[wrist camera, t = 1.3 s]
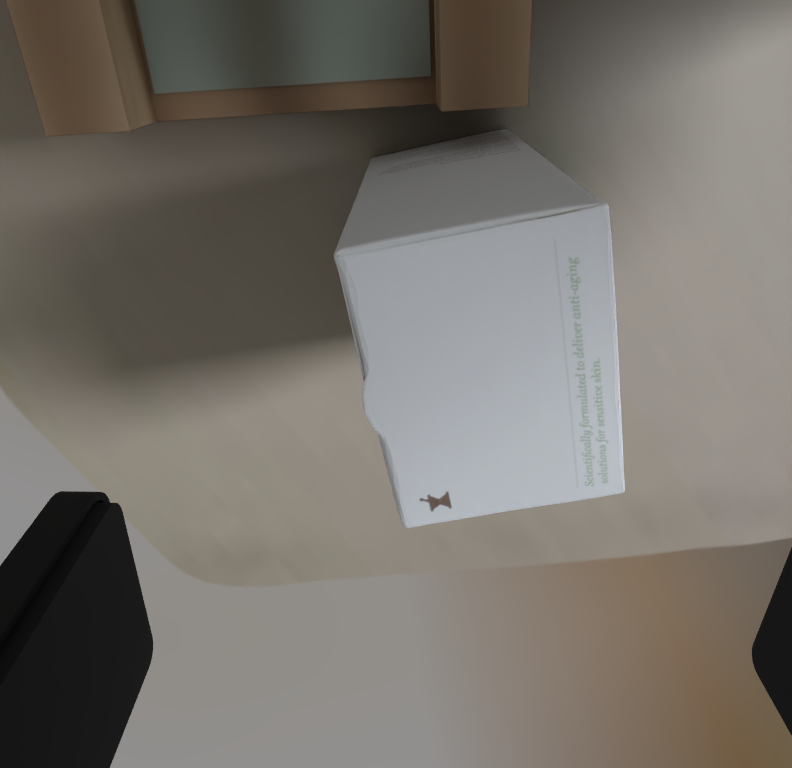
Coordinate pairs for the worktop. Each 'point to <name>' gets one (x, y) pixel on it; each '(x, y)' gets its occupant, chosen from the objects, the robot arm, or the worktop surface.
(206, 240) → the worktop surface
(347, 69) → the wooden u-shaped tray
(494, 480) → the skincare box
